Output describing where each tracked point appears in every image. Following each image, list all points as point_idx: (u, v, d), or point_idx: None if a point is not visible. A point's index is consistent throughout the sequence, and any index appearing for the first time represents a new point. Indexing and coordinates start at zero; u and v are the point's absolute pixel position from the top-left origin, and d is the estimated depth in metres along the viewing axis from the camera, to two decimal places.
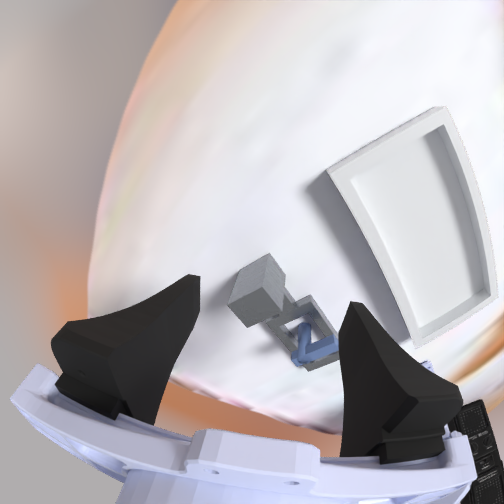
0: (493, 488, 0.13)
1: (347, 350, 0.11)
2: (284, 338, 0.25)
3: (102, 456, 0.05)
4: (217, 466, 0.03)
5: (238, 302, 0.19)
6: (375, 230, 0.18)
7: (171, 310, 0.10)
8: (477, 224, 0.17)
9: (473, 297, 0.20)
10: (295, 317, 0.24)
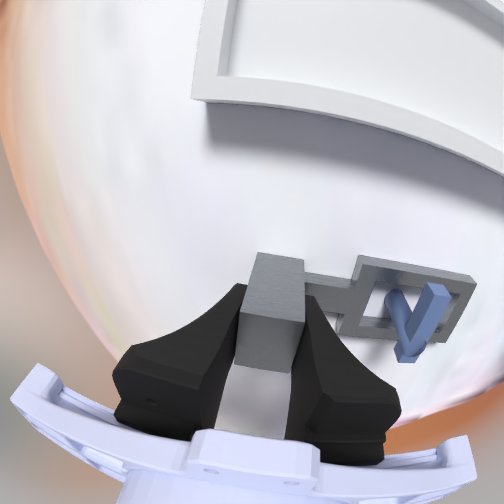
0: None
1: None
2: (379, 333, 0.14)
3: (102, 456, 0.05)
4: (217, 466, 0.03)
5: (241, 352, 0.11)
6: (324, 89, 0.09)
7: (232, 323, 0.10)
8: None
9: None
10: (365, 299, 0.14)
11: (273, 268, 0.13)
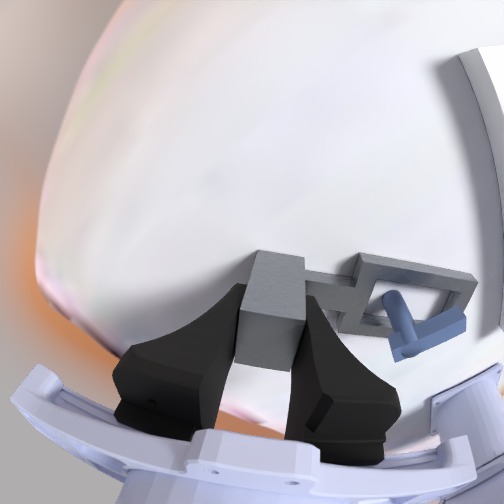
0: None
1: None
2: (380, 331, 0.14)
3: (102, 456, 0.05)
4: (217, 466, 0.03)
5: (241, 350, 0.11)
6: None
7: (232, 323, 0.10)
8: None
9: None
10: (366, 297, 0.13)
11: (273, 266, 0.13)
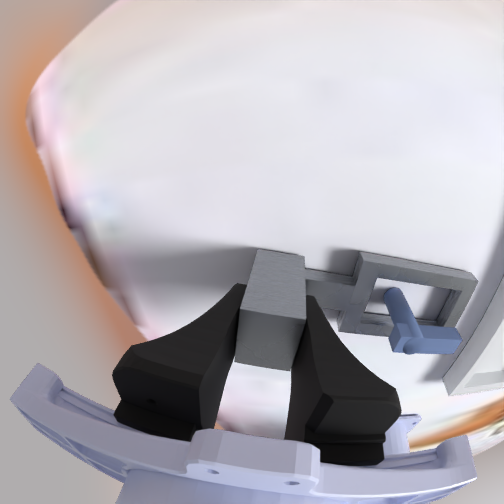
0: None
1: None
2: (380, 330, 0.14)
3: (102, 456, 0.05)
4: (217, 466, 0.03)
5: (241, 350, 0.11)
6: None
7: (232, 323, 0.10)
8: None
9: (502, 372, 0.15)
10: (367, 296, 0.13)
11: (273, 265, 0.13)
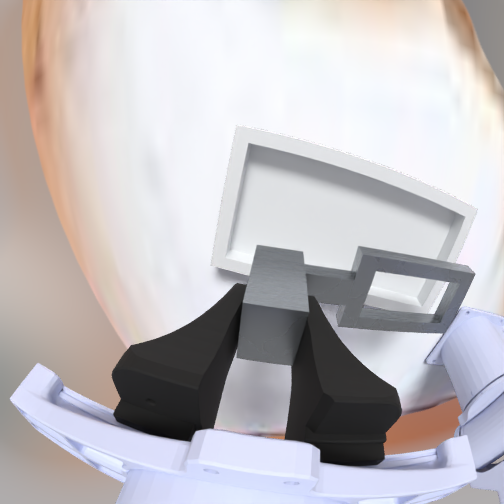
0: None
1: None
2: (379, 324, 0.14)
3: (102, 456, 0.05)
4: (217, 466, 0.03)
5: (243, 345, 0.11)
6: None
7: (232, 323, 0.10)
8: (376, 178, 0.17)
9: (451, 230, 0.18)
10: (366, 290, 0.14)
11: (273, 260, 0.13)
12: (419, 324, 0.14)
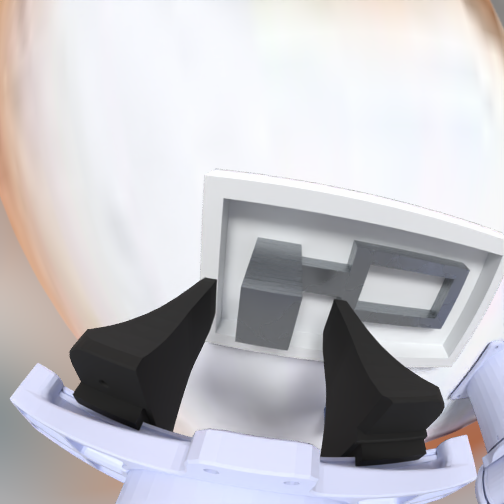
0: None
1: (330, 348, 0.11)
2: (375, 317, 0.15)
3: (102, 456, 0.05)
4: (217, 466, 0.03)
5: (241, 328, 0.12)
6: None
7: (191, 315, 0.10)
8: None
9: (484, 270, 0.13)
10: (361, 283, 0.14)
11: (272, 251, 0.14)
12: (414, 318, 0.15)
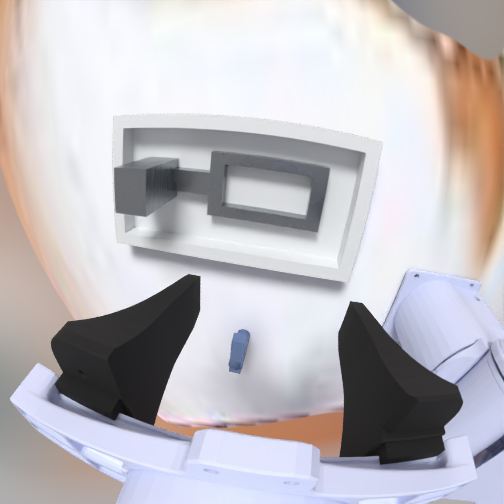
0: None
1: (347, 350, 0.11)
2: (241, 214, 0.19)
3: (102, 456, 0.05)
4: (217, 466, 0.03)
5: (117, 200, 0.16)
6: (170, 242, 0.21)
7: (171, 310, 0.10)
8: (239, 131, 0.17)
9: (357, 174, 0.18)
10: (220, 181, 0.19)
11: (152, 159, 0.18)
12: (281, 217, 0.19)
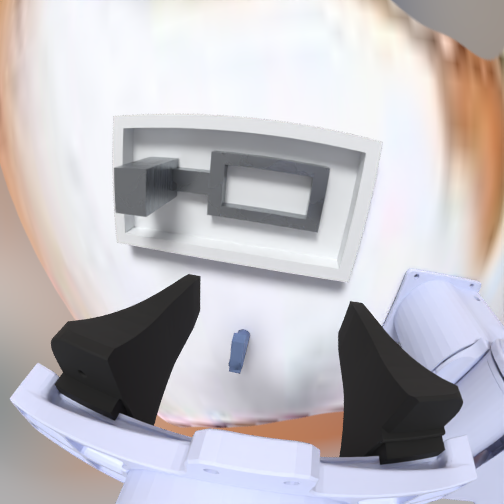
0: None
1: (347, 350, 0.11)
2: (241, 214, 0.19)
3: (102, 456, 0.05)
4: (217, 466, 0.03)
5: (117, 200, 0.16)
6: (170, 242, 0.21)
7: (171, 310, 0.10)
8: (239, 131, 0.17)
9: (357, 174, 0.18)
10: (220, 181, 0.19)
11: (152, 159, 0.18)
12: (281, 217, 0.19)
